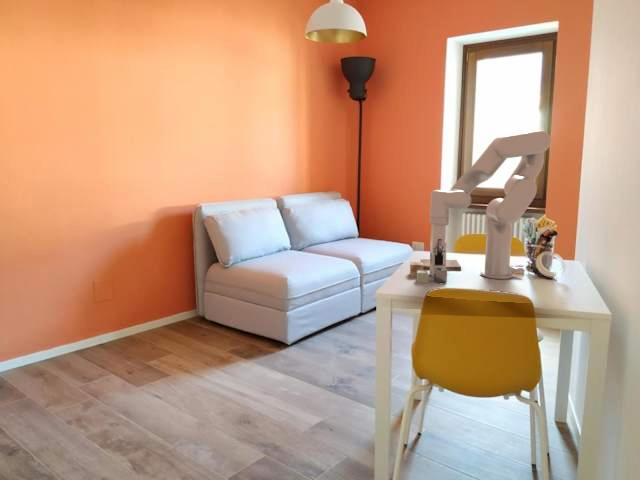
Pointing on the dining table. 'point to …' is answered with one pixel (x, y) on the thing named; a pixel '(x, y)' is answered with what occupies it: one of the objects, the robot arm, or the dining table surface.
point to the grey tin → (440, 275)
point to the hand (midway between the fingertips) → (437, 262)
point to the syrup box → (432, 260)
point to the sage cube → (422, 276)
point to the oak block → (415, 268)
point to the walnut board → (449, 264)
